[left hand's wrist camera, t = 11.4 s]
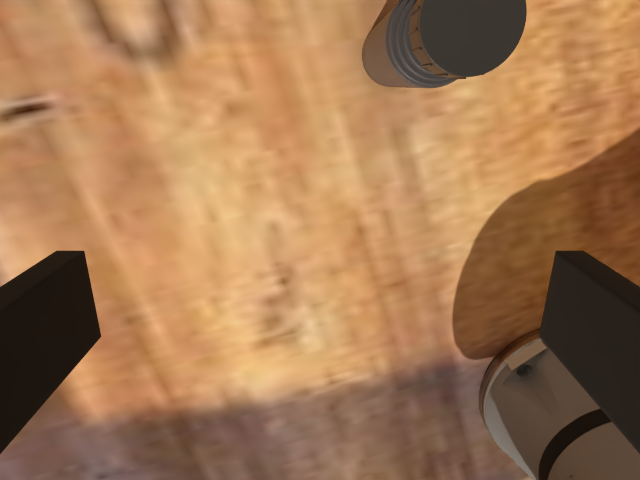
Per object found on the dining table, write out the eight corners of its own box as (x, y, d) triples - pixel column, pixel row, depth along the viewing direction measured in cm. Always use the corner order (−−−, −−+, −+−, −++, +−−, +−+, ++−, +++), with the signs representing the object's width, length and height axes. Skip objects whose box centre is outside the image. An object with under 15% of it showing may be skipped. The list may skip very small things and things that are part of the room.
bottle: (368, 14, 31) (421, -64, 15) (430, 25, 32) (551, -41, 15) (356, 81, 33) (393, 78, 16) (415, 91, 33) (511, 98, 17)
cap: (419, -37, 16) (432, -54, 15) (517, -20, 17) (543, -33, 15) (398, 70, 18) (407, 68, 16) (489, 85, 18) (510, 85, 16)
